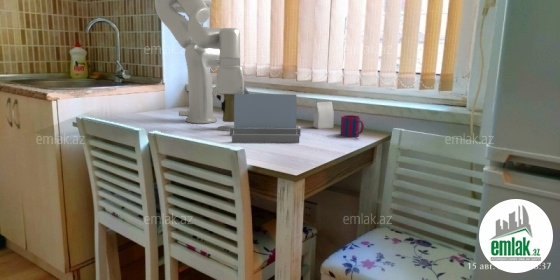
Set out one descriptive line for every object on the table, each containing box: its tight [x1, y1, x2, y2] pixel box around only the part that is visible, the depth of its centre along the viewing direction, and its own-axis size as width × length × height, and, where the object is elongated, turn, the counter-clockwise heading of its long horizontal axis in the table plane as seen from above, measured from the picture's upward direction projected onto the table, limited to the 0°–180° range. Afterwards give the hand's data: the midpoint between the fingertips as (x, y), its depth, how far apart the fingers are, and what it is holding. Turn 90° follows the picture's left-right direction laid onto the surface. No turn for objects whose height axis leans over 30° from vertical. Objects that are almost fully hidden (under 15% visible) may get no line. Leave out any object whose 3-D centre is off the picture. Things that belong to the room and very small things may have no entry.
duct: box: [229, 126, 302, 144], centre depth 141 cm, size 12×25×3 cm, turn 93°
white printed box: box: [313, 101, 335, 130], centre depth 161 cm, size 4×7×10 cm, turn 114°
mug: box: [339, 114, 365, 138], centre depth 147 cm, size 7×10×7 cm
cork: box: [222, 94, 234, 123], centre depth 155 cm, size 6×6×11 cm
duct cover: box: [233, 93, 297, 128], centre depth 147 cm, size 12×22×1 cm
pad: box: [216, 124, 234, 132], centre depth 157 cm, size 10×10×1 cm
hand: (230, 112), depth 155 cm, fingers closed on cork, 3 cm apart
